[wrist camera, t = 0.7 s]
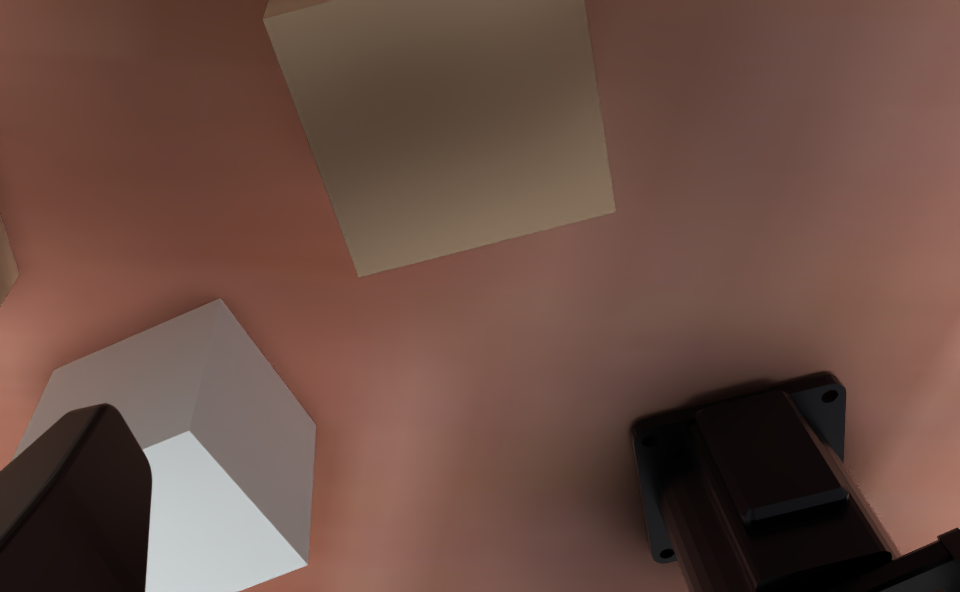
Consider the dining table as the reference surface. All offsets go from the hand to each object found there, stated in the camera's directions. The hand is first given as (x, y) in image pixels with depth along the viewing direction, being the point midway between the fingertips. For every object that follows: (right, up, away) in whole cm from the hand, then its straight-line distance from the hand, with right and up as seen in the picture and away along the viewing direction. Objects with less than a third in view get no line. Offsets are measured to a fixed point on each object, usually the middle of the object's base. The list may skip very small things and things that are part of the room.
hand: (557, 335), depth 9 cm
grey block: (-9, -2, +15) cm, 17 cm away
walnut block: (-2, +6, +10) cm, 12 cm away
